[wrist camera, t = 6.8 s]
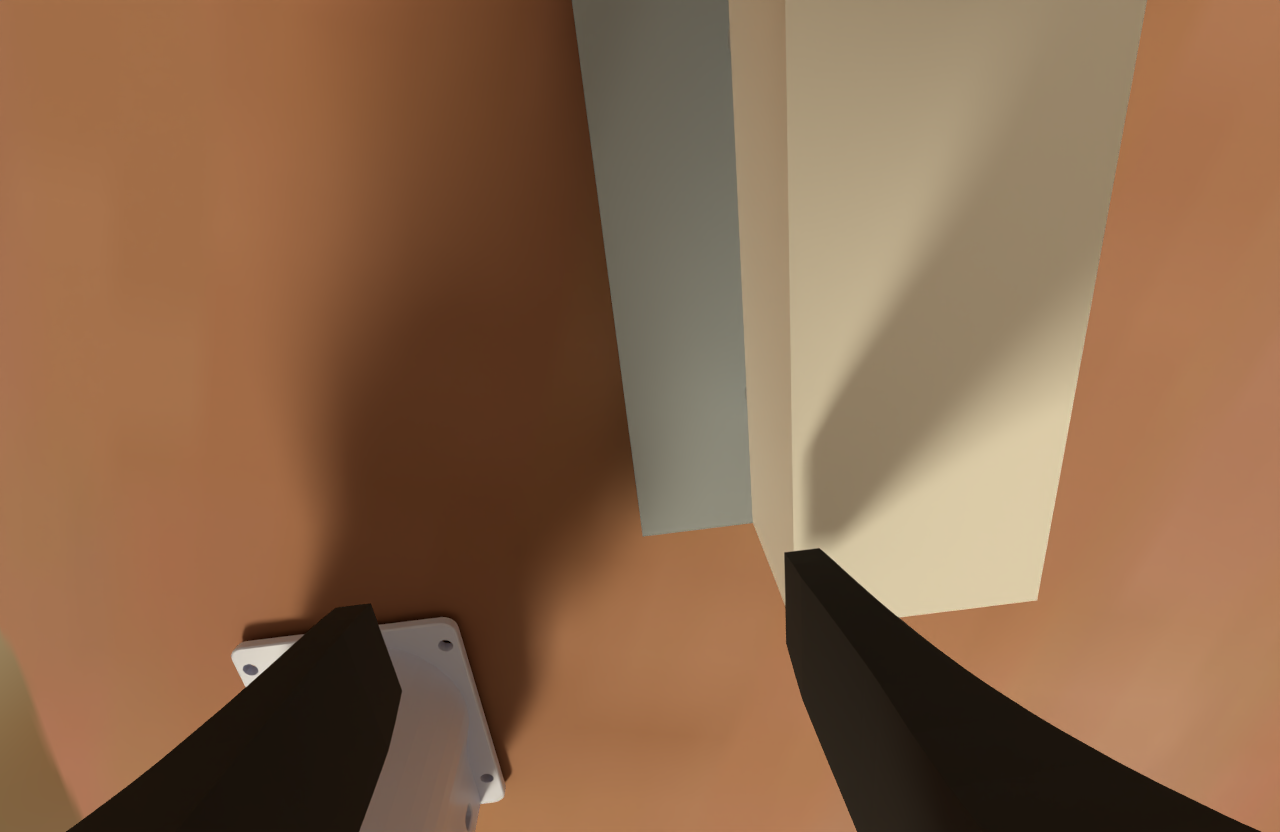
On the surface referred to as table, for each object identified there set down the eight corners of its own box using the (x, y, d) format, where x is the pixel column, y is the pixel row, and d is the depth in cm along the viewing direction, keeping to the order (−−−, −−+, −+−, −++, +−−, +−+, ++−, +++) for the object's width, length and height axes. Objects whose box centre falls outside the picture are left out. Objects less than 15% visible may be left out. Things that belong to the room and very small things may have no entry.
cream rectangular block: (940, 498, 16) (1037, 600, 13) (752, 521, 16) (794, 629, 13) (1007, -193, 11) (1214, -368, 7) (721, -157, 11) (779, -314, 7)
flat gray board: (962, 476, 21) (1041, 549, 17) (640, 516, 21) (648, 598, 17) (1039, -225, 14) (1207, -369, 10) (551, -165, 14) (529, -286, 10)
